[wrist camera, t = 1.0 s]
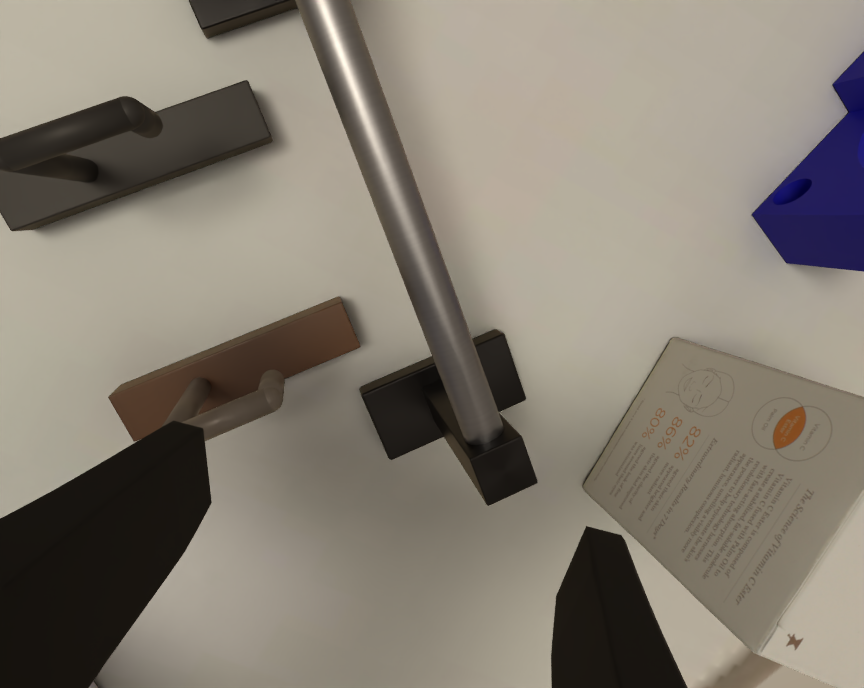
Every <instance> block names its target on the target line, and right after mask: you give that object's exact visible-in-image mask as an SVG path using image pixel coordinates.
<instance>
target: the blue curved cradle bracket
mask: <svg viewBox="0 0 864 688" xmlns="http://www.w3.org/2000/svg"><path fill="white" fill-rule="evenodd" d="M833 86H834V87H835V89H836V91H837V93H838V94H839V96H840V98H841V99H842V101H843V103H844V104H845V106H846V108H847V109H848V111H849V113H848V114H847V115H846V116H845V117H844V118H843V119H842V120H841V121H840V122H839V124H838V125H837V126H836V127H835V128H834V129H833V130H832V131H831V132H830V133H829V134H828V135H827V136H826V137H825V138H824V139H823V140H822V141H821V142H820V143H819V145H818V146H817V147H816V148H815V149H814V150H813V151H812V152H811V153H810V154H809V155H808V156H807V157H806V158H805V159H804V160H803V161H802V162H801V163H800V164H799V166H798V167H797V168H796V169H795V170H794V171H793V172H792V173H791V174H790V175H789V176H788V177H787V178H786V179H785V180H784V181H783V182H782V183H781V184H780V185H779V187H778V188H777V189H776V190H775V191H774V192H773V193H772V194H771V195H770V196H769V197H768V198H767V199H766V200H765V201H764V202H763V203H762V204H761V205H760V206H759V207H758V209H757V210H756V211H755V212H754V213H753V214H752V215H753V217H754V218H755V220H756V221H757V222H758V224H759V225H760V227H761V228H762V229H763V231H764V232H765V234H766V235H767V236H768V238H769V239H770V241H771V242H772V243H773V245H774V246H775V248H776V249H777V250H778V252H779V253H780V255H781V256H782V257H783V259H784V260H785V262H786V263H790V264H800V265H809V266H818V267H828V268H837V269H846V270H855V271H864V52H863V53H862V54H861V55H860V56H859V57H858V58H857V59H856V60H855V61H854V63H853V64H852V65H851V66H850V67H849V68H848V69H847V70H846V71H845V72H844V73H843V74H842V75H841V76H840V77H839V78H838V79H837V80H836V81H835V83H834V84H833Z"/></svg>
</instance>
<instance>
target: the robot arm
mask: <svg viewBox="0 0 864 688" xmlns="http://www.w3.org/2000/svg"><path fill="white" fill-rule="evenodd" d="M210 505H211V494H210V485H209V476H208V467H207V458H206V449H205V440H204V430H203V428H201V427H197V426H193V425H189V424H185V423H181V422H177V421H172V422H170V423H168V424H166V425H165V426H163V427H161V428H159V429H158V430H156V431H154V432H153V433H151V434H149V435H147V436H146V437H144V438H142V439H141V440H139V441H137V442H136V443H134V444H132V445H131V446H129V447H127V448H126V449H124V450H122V451H121V452H119V453H117V454H116V455H114V456H112V457H110V458H109V459H107V460H105V461H104V462H102V463H100V464H99V465H97V466H95V467H93V468H92V469H90V470H88V471H86V472H85V473H83V474H81V475H80V476H78V477H76V478H74V479H73V480H71V481H69V482H67V483H66V484H64V485H62V486H60V487H59V488H57V489H55V490H53V491H52V492H50V493H48V494H46V495H44V496H42V497H40V498H39V499H37V500H35V501H33V502H31V503H29V504H27V505H25V506H23V507H22V508H20V509H18V510H16V511H14V512H12V513H10V514H8V515H6V516H5V517H3V518H1V519H0V688H98V687H97V685H96V684H95V683H94V679H95V678H96V676H97V675H98V673H99V672H100V670H101V669H102V667H103V666H104V664H105V663H106V661H107V660H108V658H109V657H110V656H111V654H112V653H113V651H114V650H115V649H116V647H117V646H118V645H119V643H120V642H121V640H122V639H123V638H124V636H125V635H126V633H127V632H128V631H129V629H130V628H131V626H132V625H133V624H134V622H135V621H136V620H137V618H138V617H139V615H140V614H141V613H142V611H143V610H144V608H145V607H146V606H147V604H148V603H149V601H150V600H151V599H152V597H153V596H154V595H155V593H156V592H157V590H158V589H159V588H160V586H161V585H162V583H163V582H164V580H165V579H166V578H167V576H168V575H169V573H170V572H171V571H172V569H173V568H174V566H175V565H176V564H177V562H178V561H179V559H180V558H181V556H182V555H183V553H184V552H185V550H186V548H187V547H188V545H189V543H190V541H191V540H192V538H193V536H194V534H195V533H196V531H197V529H198V527H199V525H200V523H201V522H202V520H203V518H204V516H205V514H206V512H207V510H208V508H209V506H210ZM551 670H552V688H687V686H686V684H685V681H684V679H683V677H682V675H681V673H680V671H679V669H678V666H677V664H676V662H675V660H674V658H673V656H672V653H671V651H670V649H669V647H668V645H667V643H666V640H665V638H664V636H663V634H662V631H661V629H660V627H659V625H658V622H657V620H656V618H655V615H654V613H653V610H652V608H651V606H650V603H649V601H648V598H647V596H646V594H645V591H644V589H643V586H642V584H641V581H640V579H639V576H638V574H637V571H636V568H635V566H634V563H633V561H632V558H631V555H630V553H629V550H628V547H627V544H626V542H625V540H624V539H623V537H622V536H621V535H618V534H614V533H610V532H607V531H603V530H599V529H595V528H591V527H587V526H586V528H585V530H584V533H583V535H582V537H581V540H580V542H579V544H578V547H577V549H576V551H575V554H574V556H573V558H572V561H571V563H570V565H569V568H568V570H567V572H566V575H565V577H564V579H563V582H562V584H561V586H560V589H559V591H558V593H557V596H556V606H555V616H554V627H553V640H552V653H551Z"/></svg>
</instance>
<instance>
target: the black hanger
mask: <svg viewBox="0 0 864 688" xmlns="http://www.w3.org/2000/svg"><path fill="white" fill-rule="evenodd" d="M271 142H273V139H272V136H271V134H270V132H269V129H268V127H267V124H266V122H265V120H264V117H263V115H262V113H261V110H260V108H259V106H258V103H257V101H256V99H255V96H254V94H253V91H252V89H251V87H250V84H249V82H248V81H247V80H245V81H242V82H239V83H237V84H234V85H231V86H228V87H225V88H222V89H219V90H217V91H214V92H211V93H208V94H205V95H202V96H199V97H197V98H194V99H191V100H188V101H185V102H182V103H179V104H177V105H174V106H171V107H168V108H165V109H162V110H159V111H157V112H154V111H152V110H151V109H149V108H148V107H146V106H145V105H143V104H142V103H140V102H139V101H137V100H136V99H134V98H132V97H127V96H123V97H119V98H116V99H113V100H110V101H108V102H105V103H102V104H99V105H96V106H93V107H90V108H87V109H84V110H81V111H78V112H76V113H73V114H70V115H67V116H64V117H61V118H58V119H55V120H52V121H49V122H47V123H44V124H41V125H38V126H35V127H32V128H29V129H26V130H23V131H20V132H18V133H15V134H12V135H9V136H6V137H3V138H0V213H1V215H2V216H3V218H4V220H5V221H6V223H7V225H8V227H9V228H10V230H11V231H22V230H33V229H36V228H39V227H41V226H44V225H47V224H50V223H52V222H55V221H58V220H61V219H63V218H66V217H69V216H71V215H74V214H77V213H80V212H82V211H85V210H88V209H91V208H93V207H96V206H99V205H102V204H104V203H107V202H110V201H113V200H115V199H118V198H121V197H123V196H126V195H129V194H132V193H134V192H137V191H140V190H143V189H145V188H148V187H151V186H154V185H156V184H159V183H162V182H164V181H167V180H170V179H173V178H175V177H178V176H181V175H184V174H186V173H189V172H192V171H195V170H197V169H200V168H203V167H205V166H208V165H211V164H214V163H216V162H219V161H222V160H225V159H227V158H230V157H233V156H236V155H238V154H241V153H244V152H246V151H249V150H252V149H255V148H257V147H260V146H263V145H266V144H268V143H271Z"/></svg>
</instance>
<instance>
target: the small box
mask: <svg viewBox="0 0 864 688" xmlns="http://www.w3.org/2000/svg"><path fill="white" fill-rule="evenodd" d="M583 489H584V491H585V492H586V493H587V494H588V495H589V496H590V497H591V498H592V499H593V500H595V501H596V502H597V503H598V504H599V505H600V506H601V507H602V508H603V509H604V510H605V511H606V512H607V513H608V514H609V515H610V516H612V517H613V518H614V519H615V520H616V521H617V522H618V523H619V524H620V525H621V526H622V527H623V528H624V529H625V530H626V531H627V532H628V533H629V534H630V535H631V536H633V537H634V538H635V539H636V540H637V541H638V542H639V543H640V544H641V545H642V546H643V547H644V548H645V549H646V550H647V551H648V552H649V553H650V554H651V555H652V556H653V557H654V558H655V559H656V560H657V561H659V562H660V563H661V564H662V565H663V566H664V567H665V568H666V569H667V570H668V571H669V572H670V573H671V574H672V575H673V576H674V577H675V578H676V579H677V580H678V581H679V582H680V583H681V584H682V585H683V586H684V587H685V588H686V589H687V590H688V591H689V592H690V593H691V594H692V595H693V596H694V597H695V598H696V599H697V600H698V601H699V602H700V603H701V604H703V605H704V606H705V607H706V608H707V609H708V610H709V611H710V612H711V613H712V614H713V615H714V616H715V617H716V618H717V619H718V620H719V621H720V622H721V623H723V624H724V625H725V626H726V627H727V628H728V629H729V630H730V631H731V632H732V633H733V634H734V635H735V636H736V637H737V638H738V639H739V640H741V641H742V642H743V644H744V645H745V646H747V647H748V648H749V649H750V650H751V651H752V652H754V653H755V654H757V655H759V656H762V657H764V658H767V659H769V660H772V661H774V662H776V663H779V664H781V665H783V666H786V667H788V668H791V669H793V670H795V671H798V672H800V673H802V674H804V675H807V676H809V677H812V678H814V679H816V680H818V681H821V682H823V683H826V684H828V685H831V686H833V687H836V688H864V397H862V396H859V395H856V394H853V393H850V392H846V391H843V390H840V389H836V388H833V387H830V386H827V385H824V384H821V383H818V382H815V381H812V380H808V379H805V378H802V377H799V376H796V375H793V374H790V373H787V372H784V371H781V370H778V369H775V368H771V367H768V366H765V365H762V364H759V363H756V362H753V361H749V360H746V359H743V358H740V357H737V356H733V355H730V354H727V353H724V352H721V351H718V350H714V349H711V348H708V347H705V346H702V345H698V344H695V343H692V342H689V341H686V340H683V339H680V338H676V337H674V338H672V339H671V341H670V342H669V344H668V346H667V347H666V349H665V351H664V352H663V354H662V356H661V357H660V359H659V361H658V362H657V364H656V366H655V367H654V369H653V371H652V372H651V374H650V376H649V377H648V379H647V381H646V382H645V384H644V386H643V387H642V389H641V390H640V392H639V394H638V395H637V397H636V399H635V400H634V402H633V404H632V405H631V407H630V409H629V410H628V412H627V414H626V415H625V417H624V419H623V420H622V422H621V423H620V425H619V427H618V428H617V430H616V432H615V433H614V435H613V437H612V438H611V440H610V442H609V443H608V445H607V447H606V448H605V450H604V452H603V454H602V455H601V457H600V458H599V460H598V462H597V463H596V465H595V467H594V468H593V470H592V472H591V473H590V475H589V477H588V478H587V480H586V481H585V483H584V485H583Z"/></svg>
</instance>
